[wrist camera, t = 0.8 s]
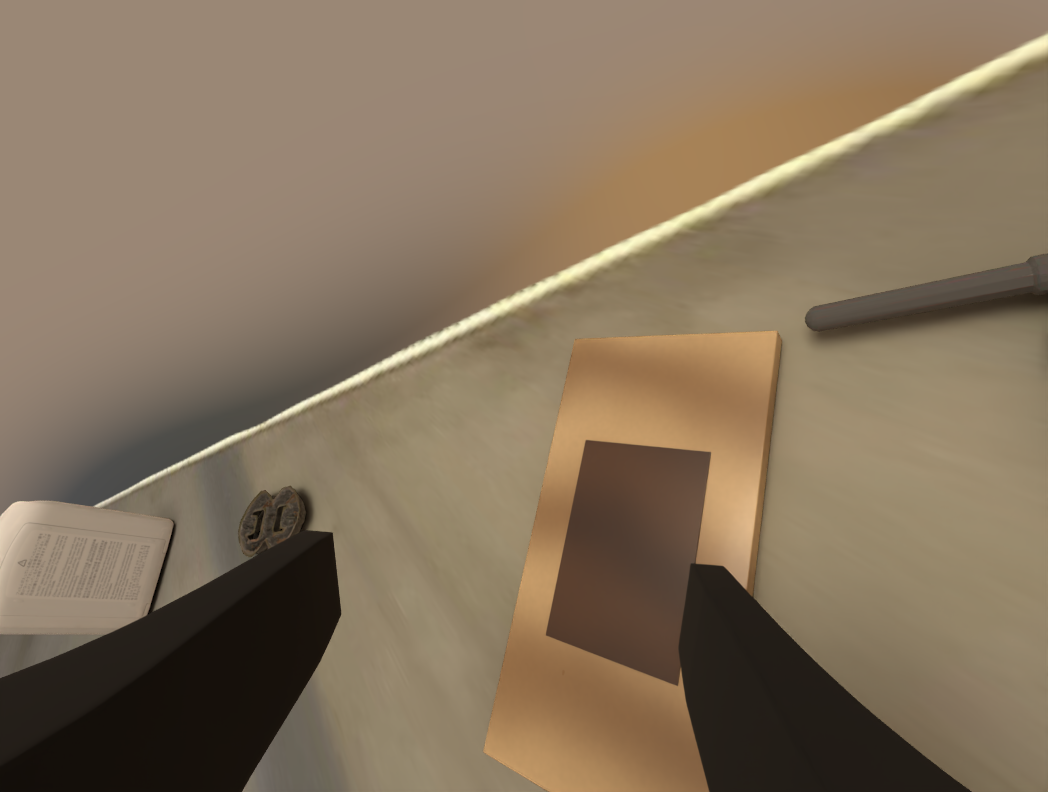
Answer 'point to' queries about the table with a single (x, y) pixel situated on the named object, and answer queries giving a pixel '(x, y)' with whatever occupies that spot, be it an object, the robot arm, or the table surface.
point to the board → (632, 556)
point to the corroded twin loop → (271, 520)
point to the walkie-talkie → (934, 295)
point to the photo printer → (77, 567)
